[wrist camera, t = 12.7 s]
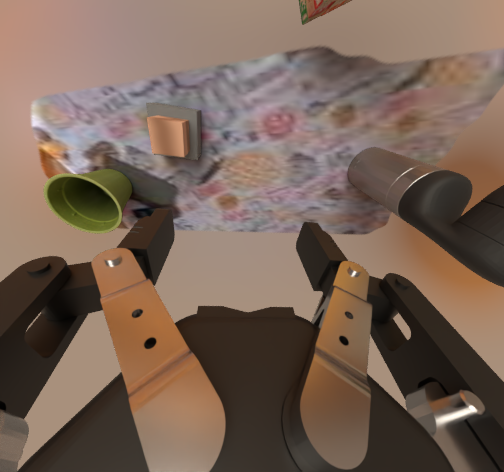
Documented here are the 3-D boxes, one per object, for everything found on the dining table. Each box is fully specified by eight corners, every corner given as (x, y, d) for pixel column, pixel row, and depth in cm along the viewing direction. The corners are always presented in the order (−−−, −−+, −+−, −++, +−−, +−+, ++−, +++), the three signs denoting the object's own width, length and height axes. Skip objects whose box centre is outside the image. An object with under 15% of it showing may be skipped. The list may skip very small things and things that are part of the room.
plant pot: (133, 216, 48) (109, 243, 38) (79, 188, 42) (37, 212, 33) (152, 180, 43) (131, 201, 34) (94, 144, 38) (50, 158, 29)
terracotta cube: (188, 119, 32) (182, 122, 28) (189, 150, 35) (184, 157, 31) (157, 115, 32) (146, 117, 28) (161, 147, 34) (152, 153, 30)
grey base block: (200, 110, 36) (196, 111, 32) (201, 154, 40) (197, 160, 36) (156, 102, 35) (146, 102, 30) (162, 149, 39) (153, 154, 35)
